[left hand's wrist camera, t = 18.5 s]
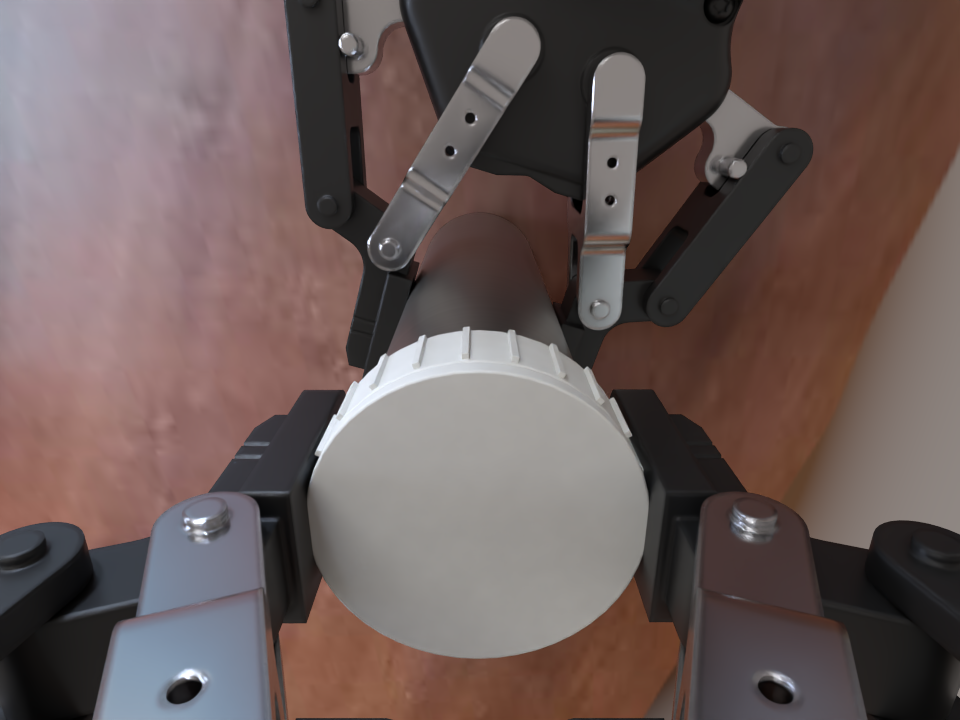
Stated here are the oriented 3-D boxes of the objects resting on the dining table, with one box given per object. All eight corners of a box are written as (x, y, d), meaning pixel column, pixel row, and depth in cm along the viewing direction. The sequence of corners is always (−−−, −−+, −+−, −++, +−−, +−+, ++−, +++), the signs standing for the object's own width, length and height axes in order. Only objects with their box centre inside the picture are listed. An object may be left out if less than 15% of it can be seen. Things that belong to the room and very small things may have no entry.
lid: (676, 371, 10) (714, 419, 9) (572, 613, 12) (587, 691, 10) (361, 287, 10) (337, 321, 8) (303, 554, 11) (274, 625, 10)
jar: (477, 340, 26) (473, 652, 11) (402, 265, 25) (281, 500, 10) (556, 269, 25) (673, 509, 10) (481, 188, 24) (483, 317, 9)
